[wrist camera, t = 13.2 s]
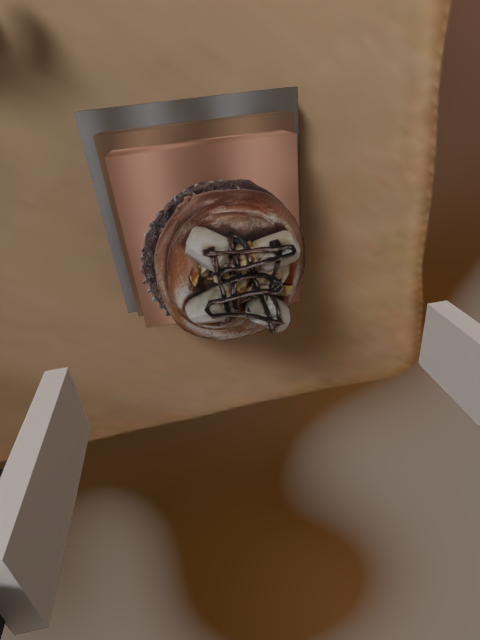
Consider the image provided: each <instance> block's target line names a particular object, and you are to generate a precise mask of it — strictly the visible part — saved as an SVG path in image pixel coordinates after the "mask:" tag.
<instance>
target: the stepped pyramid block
mask: <svg viewBox="0 0 480 640" xmlns="http://www.w3.org/2000/svg"><path fill="white" fill-rule="evenodd" d="M75 116H76V119H77V123H78V127H79V130H80V134H81V138H82V142H83V145H84V149H85V153H86V156H87V160H88V164H89V168H90V171H91V175H92V179H93V182H94V186H95V190H96V194H97V197H98V201H99V205H100V208H101V212H102V216H103V220H104V223H105V227H106V231H107V234H108V238H109V242H110V245H111V249H112V253H113V257H114V260H115V264H116V268H117V271H118V275H119V279H120V283H121V286H122V290H123V294H124V297H125V301H126V305H127V309H128V312H129V313H131V312H137V311H138V315H139V316H144V319H145V323H146V327H147V328H148V327H154V326H160V325H166V324H172V323H175V321H174V319H173V318H172V317H171V316H169V317H166V314H165V313H166V310H165V309H161V310H160V309H159V302H156V303H155V302H153V301H152V298H153V295H152V294H149V293H147V291H148V288H149V285H143V284H142V282H143V280H144V279H145V275H144V274H142V273H141V271H140V268H141V267H142V265H143V263H142V262H140V261H141V256H142V252H141V250H142V247H143V244H144V243H145V239H144V233H146V232H147V231H148V230H149V229H150V227H149V225H150V223H151V222H153V221H154V220H155V219H156V214H157V213H158V212H159V211H161V210H163V209H164V207H165V205H166V203H167V202H170V201H171V200H172V199H173V198H174V196H175V195H177V194H179V193H181V192H183V190H185V189H187V188H189V187H191V186H192V185H195V184H197V183H200V182H205V181H216V180H231V179H243V180H250V181H252V182H253V183H255V184H256V185H258V186H260V187H262V188H264V189H266V190H267V191H269V192H270V193H272V194H273V195H274V196H275V197H276V198H278V199H279V200H280V201H281V202H282V203H283V204H284V206H285V207H286V208H287V209H288V210H289V211H290V212H291V214H292V215H293V216H294V218H295V219H296V221H297V223H298V226H299V228H300V231H301V212H300V169H299V126H298V87H286V88H277V89H268V90H259V91H251V92H242V93H233V94H225V95H216V96H207V97H198V98H190V99H181V100H172V101H163V102H155V103H146V104H137V105H128V106H120V107H111V108H102V109H94V110H85V111H78V112H75ZM301 285H302V278H301V280H300V282H299V284H298V287H297V289H296V291H295V294H294V296H293V299H292V301H291V303H297V302H301ZM291 303H290V304H291Z"/></svg>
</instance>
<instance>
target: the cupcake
mask: <svg viewBox="0 0 480 640" xmlns="http://www.w3.org/2000/svg"><path fill="white" fill-rule="evenodd" d="M149 227H150V229H149V230H148V231H147V232H146V233H144V239H145V243H144V244H143V247H142V250H141V252H142V256H141V261H140V262H142V263H143V265H142V267H141V268H140V271H141V273H142V274H144V275H145V279H144V280H143V282H142V284H143V285H149V288H148V291H147V293H149V294H152V295H153V298H152V301H153V302H155V303H156V302H159V309H160V310H161V309H165V310H166V313H165V314H166V317H169V316H171V317H172V318H173V319H174V321H175V324H178V325H179V326H180V327H181V328H182V329H184V330H185V331H187V332H189V333H191V334H193V335H196V336H199V337H203V338H207V339H218V340H227V339H233V338H237V337H241V336H245V335H248V334H253V333H257V332H260V331H262V330H264V329H266V328H268V329H269V332H270V333H272V334H274V333H275V332H283V331H284V330H285V329H286V328H287V326H288V325H289V323H290V310H289V308H288V306H289V304H290V303H291V301H292V299H293V296H294V294H295V291H296V289H297V287H298V284H299V282H300V280H301V278H302V276H303V271H304V266H305V247H304V239H303V236H302V233H301V231H300V228H299V226H298V223H297V221H296V219H295V218H294V216H293V215H292V214H291V212H290V211H289V210H288V209H287V208H286V207H285V206H284V204H283V203H282V202H281V201H280V200H279V199H278V198H276V197H275V196H274V195H273V194H272V193H270V192H269V191H267V190H266V189H264V188H262V187H260V186H258V185H256V184H255V183H253V182H252V181H250V180H243V179H231V180H216V181H205V182H200V183H197V184H195V185H192V186H191V187H189V188H187V189H185V190H183V192H181V193H179V194H177V195H175V196H174V198H173V199H172V200H171V201H170V202H167V203H166V205H165V207H164V209H163V210H161V211H159V212H158V213H157V214H156V219H155V220H154V221H153V222H151V223H150V225H149Z"/></svg>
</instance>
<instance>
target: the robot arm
mask: <svg viewBox="0 0 480 640" xmlns="http://www.w3.org/2000/svg"><path fill="white" fill-rule="evenodd" d="M419 364H420V365H421V366H422V367H423V369H425V371H426V372H427V373H428V374H429V375H430V376H431V377H432V378H433V379H434V380H435V381H436V382H437V383H438V384H439V385H440V386H441V387H442V388H443V389H444V390H445V391H446V392H447V393H448V394H449V395H450V396H451V397H452V398H453V400H454V401H455V402H456V403H458V405H459V406H460V407H461V408H462V409H463V410H464V411H465V412H466V413H467V414H468V415H469V416H470V417H471V418H472V419H473V420H474V421H475V422H476V423H477V424H478V425H479V426H480V324H479V323H478V322H476V321H475V320H473V319H472V318H471V317H469V316H468V315H466V314H465V313H464V312H462V311H461V310H459V309H458V308H457V307H455V306H454V305H452V304H451V303H449V302H448V301H441V302H435V303H430V304H428V305H427V312H426V318H425V325H424V331H423V338H422V345H421V351H420V358H419ZM90 428H91V426H90V423H89V420H88V418H87V415H86V413H85V410H84V407H83V405H82V402H81V400H80V397H79V394H78V392H77V389H76V387H75V384H74V381H73V379H72V376H71V374H70V371H69V368H68V367H67V368H61V369H55V370H50V371H45V372H44V375H43V377H42V380H41V382H40V384H39V387H38V389H37V391H36V394H35V396H34V399H33V401H32V403H31V406H30V408H29V410H28V413H27V415H26V418H25V420H24V422H23V425H22V427H21V429H20V432H19V434H18V437H17V439H16V441H15V444H14V446H13V449H12V451H11V453H10V456H9V458H8V460H7V463H6V465H5V468H4V469H1V470H0V639H1V635H2V632H3V628H4V624H6V625H7V627H8V628H9V629H10V630H11V631H12V633H13V634H14V635H18V634H22V633H26V632H30V631H35V630H39V629H43V628H47V627H49V622H50V618H51V613H52V608H53V603H54V599H55V593H56V589H57V584H58V580H59V575H60V570H61V565H62V561H63V556H64V551H65V546H66V542H67V537H68V532H69V528H70V523H71V518H72V513H73V509H74V504H75V499H76V494H77V489H78V485H79V480H80V475H81V471H82V466H83V461H84V456H85V452H86V447H87V442H88V437H89V433H90Z"/></svg>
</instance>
